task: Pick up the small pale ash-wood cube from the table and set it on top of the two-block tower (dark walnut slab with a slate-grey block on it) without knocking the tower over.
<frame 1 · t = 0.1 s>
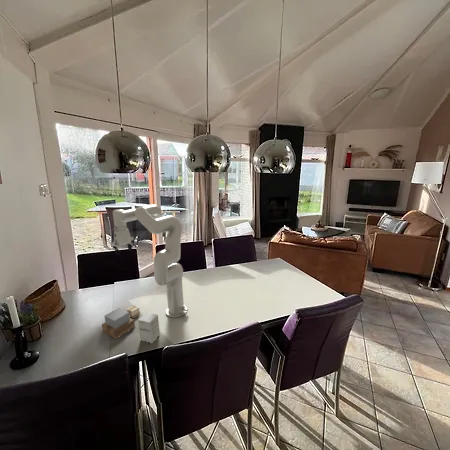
hand: (124, 252, 175), 31 cm above the table, fingers open, 9 cm apart
ash cube: (133, 315, 156), on the table
supplement box: (150, 338, 136), on the table
top block: (117, 322, 143), point 5 cm above the table
base block: (119, 330, 144), on the table
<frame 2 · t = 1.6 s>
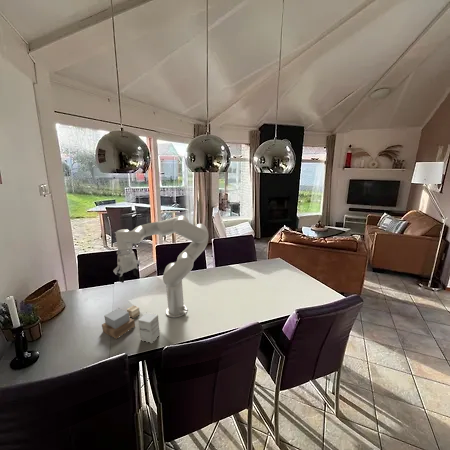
hand: (129, 278, 151), 24 cm above the table, fingers open, 9 cm apart
top block: (117, 322, 143), point 5 cm above the table, touching base block
base block: (119, 330, 144), on the table, touching top block
everything else where it was.
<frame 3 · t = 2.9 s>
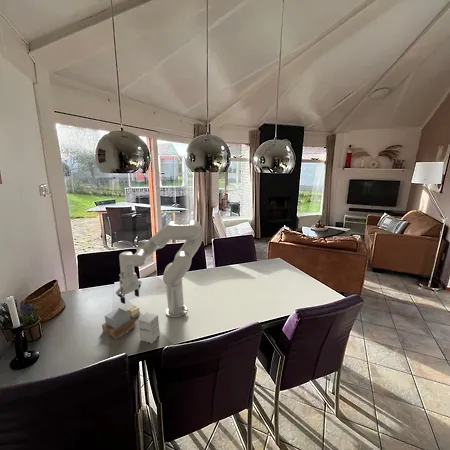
hand: (130, 299, 153), 11 cm above the table, fingers open, 9 cm apart
nothing on the table moved.
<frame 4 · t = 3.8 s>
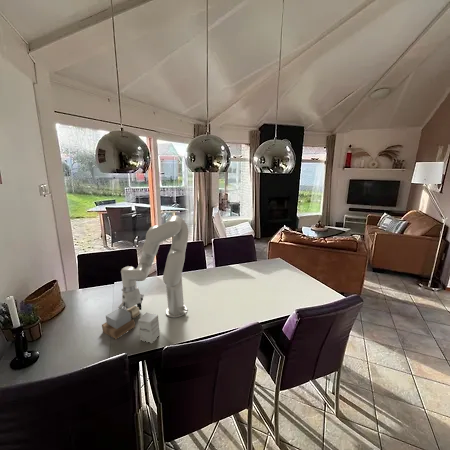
hand: (132, 313, 156), 2 cm above the table, fingers open, 9 cm apart
nothing on the table moved.
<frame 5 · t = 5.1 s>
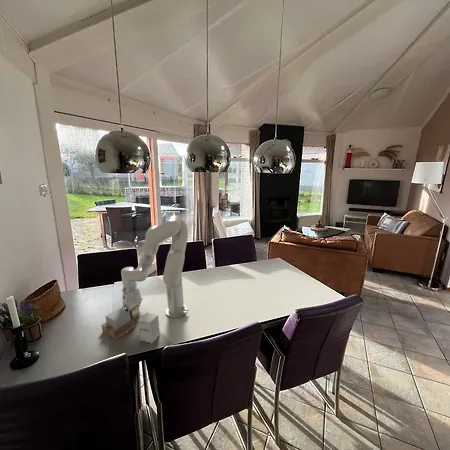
hand: (133, 314, 156), 0 cm above the table, fingers closed on ash cube, 5 cm apart
ash cube: (133, 315, 156), on the table, touching gripper
everything else where it was.
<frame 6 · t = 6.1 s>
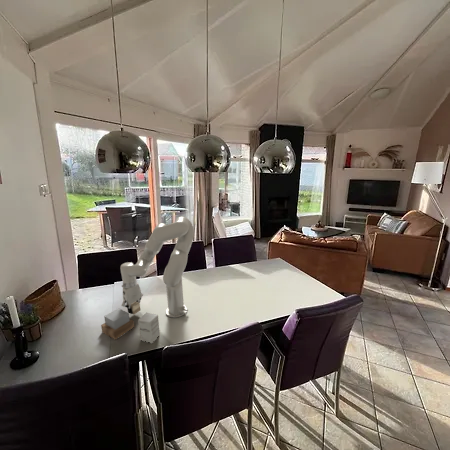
hand: (134, 310, 155), 3 cm above the table, fingers closed on ash cube, 5 cm apart
ash cube: (134, 311, 156), point 3 cm above the table, touching gripper
everything else where it was.
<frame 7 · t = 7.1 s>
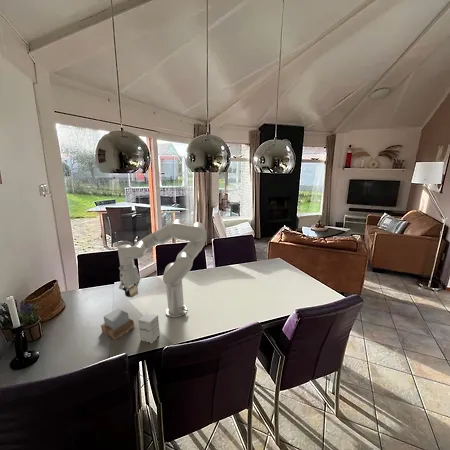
hand: (132, 294, 153), 14 cm above the table, fingers closed on ash cube, 5 cm apart
ash cube: (132, 294, 153), point 14 cm above the table, touching gripper
top block: (117, 322, 142), point 5 cm above the table
base block: (118, 330, 143), on the table
everything else where it was.
when the fingers open (12 cm above the table, at t = 13.1 s): ash cube drops 2 cm, resting on top block.
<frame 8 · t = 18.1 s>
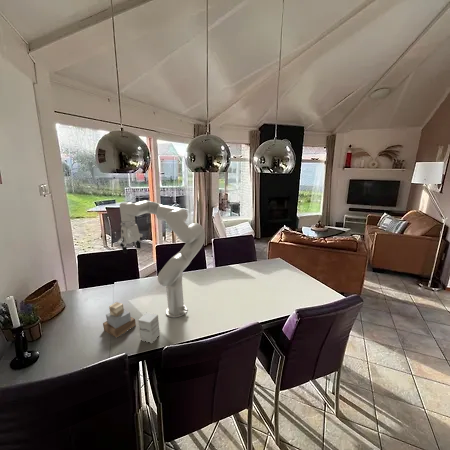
hand: (132, 250, 156), 38 cm above the table, fingers open, 9 cm apart
ash cube: (117, 313, 142), point 10 cm above the table, touching top block
top block: (119, 321, 143), point 5 cm above the table, touching ash cube, base block
base block: (120, 328, 145), on the table, touching top block
everything else where it was.
at the end: ash cube 0.8 cm off-centre on the top block, point 5.0 cm above the top block's base; ash cube tilted 0°; top block moved 0.8 cm from its start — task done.
